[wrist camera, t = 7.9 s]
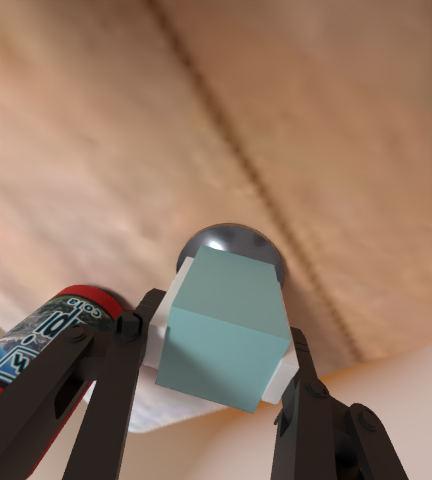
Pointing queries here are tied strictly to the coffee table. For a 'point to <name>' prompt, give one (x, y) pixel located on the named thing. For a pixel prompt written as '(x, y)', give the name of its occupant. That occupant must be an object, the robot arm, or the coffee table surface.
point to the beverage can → (54, 333)
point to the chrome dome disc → (235, 245)
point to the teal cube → (224, 330)
